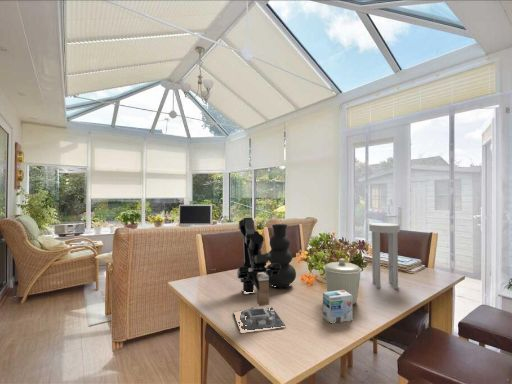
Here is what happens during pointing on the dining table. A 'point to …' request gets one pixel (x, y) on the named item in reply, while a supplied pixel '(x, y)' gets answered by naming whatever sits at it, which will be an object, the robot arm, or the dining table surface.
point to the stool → (392, 251)
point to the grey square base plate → (260, 318)
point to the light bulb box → (337, 306)
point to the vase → (281, 257)
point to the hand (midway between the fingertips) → (263, 289)
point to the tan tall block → (263, 289)
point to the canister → (343, 277)
